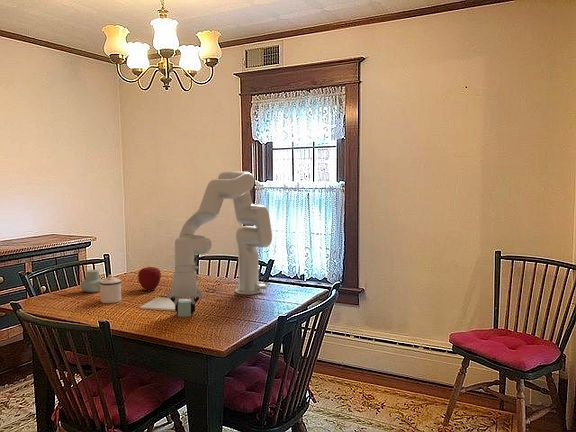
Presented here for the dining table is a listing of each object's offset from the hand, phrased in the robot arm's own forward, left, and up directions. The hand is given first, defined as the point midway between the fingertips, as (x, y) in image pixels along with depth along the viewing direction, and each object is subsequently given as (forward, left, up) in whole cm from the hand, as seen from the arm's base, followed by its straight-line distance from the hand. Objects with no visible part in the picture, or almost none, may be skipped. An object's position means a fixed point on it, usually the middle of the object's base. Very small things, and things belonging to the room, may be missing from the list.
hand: (185, 312), depth 201 cm
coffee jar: (+14, -34, -1) cm, 37 cm away
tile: (+14, -12, -1) cm, 19 cm away
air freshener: (+59, -27, -1) cm, 65 cm away
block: (0, 0, -1) cm, 1 cm away
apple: (+34, -36, -1) cm, 50 cm away
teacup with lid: (+42, -13, -1) cm, 44 cm away
